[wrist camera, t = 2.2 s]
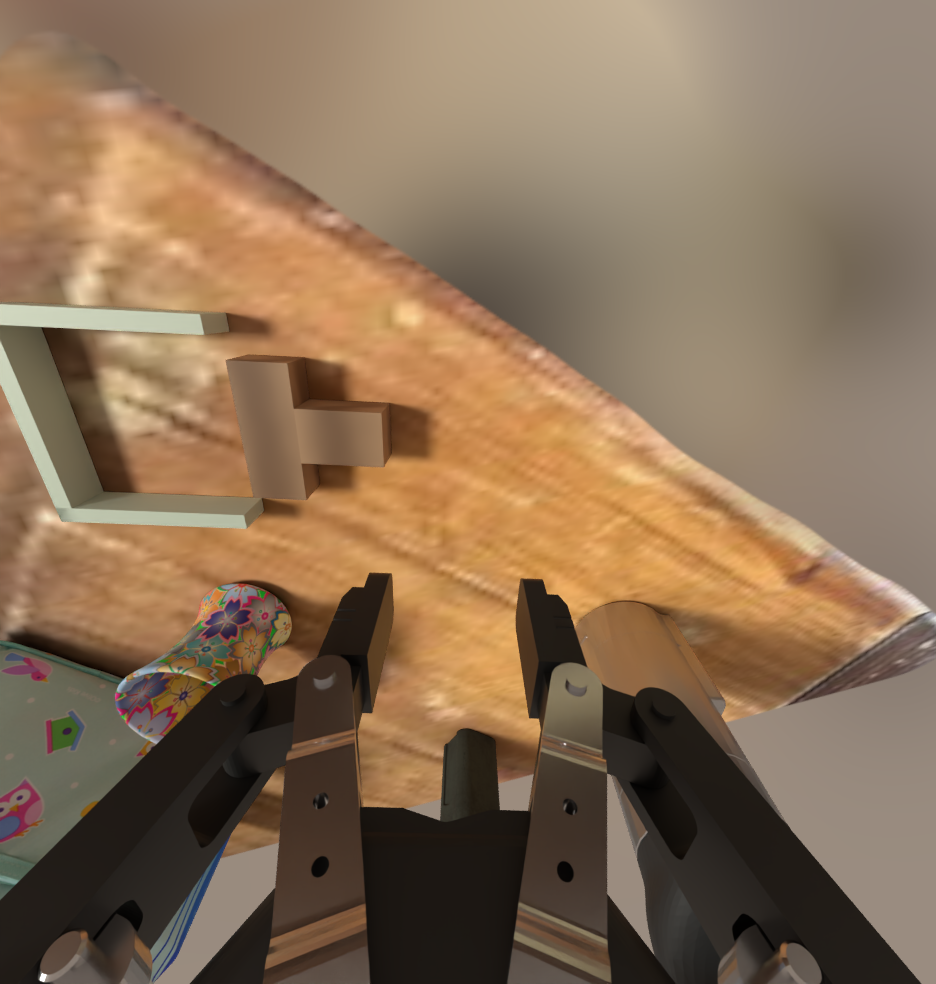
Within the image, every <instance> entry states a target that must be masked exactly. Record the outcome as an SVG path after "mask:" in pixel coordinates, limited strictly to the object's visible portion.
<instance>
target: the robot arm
mask: <svg viewBox="0 0 936 984" xmlns="http://www.w3.org/2000/svg"><path fill="white" fill-rule="evenodd" d="M393 613H394V606H393V582H392V574H391V573H369V575H368V578H367V581H366V583H365V586H364V588H362V587H352V588H351V589H350V590H349V591H348V592H347V593H346V594H345V595H344V596H343V597H342V599H341V602H340V604H339V606H338V609H337V611H336V614H335V616H334V618H333V621H332V623H331V626H330V628H329V630H328V633H327V635H326V638H325V640H324V642H323V645H322V647H321V649H320V652H319V654H318V657H317V658H316V659H314V660H312V661H310V662H309V663H308V664H306V665H305V666H304V667H303V669H302V670H301V671H300V673H299V675H298V676H296V677H293V678H291V679H287V680H283V681H279V682H275V683H271V684H267V685H264V684H263V681H262V680H261V678H259V677H258V676H256V675H253V674H239V675H235V676H232V677H229V678H227V679H225V680H223V681H222V682H220V683H219V684H217V685H216V686H215V687H214V688H212V689H211V690H210V691H209V692H208V693H207V694H206V695H205V696H204V697H203V698H202V699H201V700H200V701H199V702H198V703H197V704H196V705H195V706H194V707H193V708H192V709H191V710H190V711H189V712H188V713H187V714H186V715H185V716H184V717H183V718H182V719H181V720H180V721H179V722H178V723H177V724H176V725H175V726H174V727H173V728H172V729H171V730H170V731H169V732H168V733H167V734H166V735H165V736H164V737H163V738H162V739H161V740H160V741H159V742H158V743H157V744H156V745H155V746H154V747H153V748H152V749H151V750H150V751H149V752H148V753H147V754H146V755H145V756H144V757H143V758H142V759H141V760H140V761H139V762H138V763H137V764H136V765H135V766H134V767H133V768H132V769H131V770H130V771H129V772H128V773H127V774H126V775H125V776H124V777H123V778H122V779H121V780H120V781H119V782H118V783H117V784H116V785H115V786H114V787H113V788H112V789H111V790H110V791H109V792H108V793H107V794H106V795H105V796H104V797H103V798H102V799H101V800H100V801H99V802H98V803H97V804H96V805H95V806H94V807H93V808H92V809H91V810H90V811H89V812H88V813H87V814H86V815H85V816H84V817H83V818H82V819H81V820H80V821H79V822H78V823H77V824H76V825H75V826H74V827H73V828H72V829H71V830H70V831H69V832H68V833H67V834H66V835H65V836H64V837H63V838H62V839H61V840H60V841H59V842H58V843H57V844H56V845H55V846H54V847H53V848H52V849H51V850H50V851H49V852H48V853H47V854H46V855H45V856H44V857H43V858H42V859H41V860H40V861H39V862H38V863H37V864H36V865H35V866H34V867H33V868H32V869H31V870H30V871H29V872H28V873H27V874H26V875H25V876H24V877H23V878H22V879H21V880H20V881H19V882H18V883H17V884H16V885H15V886H14V887H13V888H12V889H11V890H10V891H9V892H8V893H7V894H6V895H5V896H4V897H3V898H2V899H1V900H0V984H149V983H150V979H151V974H152V965H153V962H152V955H151V952H150V950H151V949H152V947H153V946H154V944H155V943H156V942H157V940H158V939H159V937H160V936H161V934H162V933H163V931H164V930H165V929H166V927H167V926H168V924H169V923H170V921H171V920H172V918H173V917H174V916H175V914H176V913H177V911H178V910H179V908H180V907H181V905H182V904H183V903H184V901H185V900H186V898H187V897H188V895H189V894H190V892H191V891H192V890H193V888H194V887H195V885H196V884H197V882H198V881H199V879H200V878H201V877H202V875H203V874H204V872H205V871H206V869H207V868H208V866H209V865H210V864H211V862H212V861H213V859H214V858H215V856H216V855H217V853H218V852H219V851H220V849H221V848H222V846H223V845H224V843H225V842H226V840H227V839H228V838H229V836H230V835H231V833H232V832H233V830H234V829H235V827H236V826H237V825H238V823H239V822H240V820H241V819H242V817H243V816H244V814H245V813H246V812H247V810H248V809H249V807H250V806H251V804H252V803H253V801H254V800H255V799H256V797H257V796H258V794H259V793H260V791H261V790H262V788H263V787H264V786H265V784H266V783H267V781H268V780H269V778H270V777H271V775H272V774H273V773H274V771H275V769H276V768H278V767H281V766H285V777H284V789H283V801H282V812H281V824H280V836H279V849H278V861H277V872H276V884H275V885H276V886H275V889H274V890H273V891H272V892H271V893H270V894H269V895H268V896H267V897H266V899H265V900H264V901H263V902H262V903H261V904H260V905H259V906H258V908H257V909H256V910H255V911H254V912H253V913H252V915H251V916H250V917H249V918H248V919H247V920H246V921H245V922H244V923H243V924H242V926H241V927H240V928H239V929H238V930H237V931H236V932H235V933H234V935H233V936H232V937H231V938H230V939H229V940H228V941H227V942H226V944H225V945H224V946H223V947H222V948H221V949H220V950H219V952H218V953H217V954H216V955H215V956H214V957H213V958H212V959H211V961H210V962H209V963H208V964H207V965H206V966H205V967H204V968H203V969H202V971H201V972H200V973H199V974H198V975H197V976H196V977H195V979H194V980H193V981H192V982H191V983H190V984H921V983H920V982H919V980H918V979H917V978H916V977H915V976H914V974H913V973H912V972H911V971H910V970H909V969H908V967H907V966H906V965H905V964H904V963H903V962H902V960H901V959H900V958H899V957H898V956H897V954H896V953H895V952H894V951H893V950H892V949H891V947H890V946H889V945H888V944H887V943H886V942H885V940H884V939H883V938H882V937H881V936H880V934H879V933H878V932H877V931H876V930H875V929H874V927H873V926H872V925H871V924H870V923H869V921H867V919H866V918H865V917H864V915H863V914H862V913H861V912H860V911H859V910H858V908H857V907H856V906H855V905H854V904H853V902H852V901H851V900H850V899H849V898H848V897H847V896H846V894H845V893H844V892H843V891H842V890H841V889H840V887H839V886H838V885H837V884H836V882H835V881H834V880H833V879H832V878H831V877H830V875H829V874H828V873H827V872H826V871H825V869H824V868H823V867H822V866H821V865H820V864H819V862H818V861H817V860H816V859H815V858H814V857H813V856H812V854H811V853H810V852H809V851H808V849H807V848H806V847H805V846H804V845H803V844H802V842H801V841H800V840H799V839H798V838H797V837H796V835H795V834H794V833H793V832H792V831H791V829H790V827H789V826H788V824H787V823H786V822H785V820H784V818H783V817H782V815H781V813H780V812H779V810H778V809H777V807H776V805H775V804H774V802H773V800H772V799H771V797H770V795H769V794H768V792H767V790H766V789H765V787H764V786H763V784H762V782H761V781H760V779H759V777H758V776H757V774H756V772H755V771H754V769H753V768H752V766H751V764H750V763H749V761H748V760H747V758H746V756H745V755H744V753H743V751H742V750H741V748H740V746H739V745H738V743H737V741H736V740H735V738H734V736H733V735H732V733H731V731H730V730H729V728H728V726H727V725H726V723H725V721H724V720H723V718H722V716H721V715H722V713H723V711H724V709H725V706H726V705H725V700H724V698H723V697H722V695H721V694H720V692H719V691H718V689H717V687H716V686H715V684H714V683H713V681H712V680H711V678H710V677H709V675H708V673H707V672H706V670H705V669H704V667H703V666H702V664H701V663H700V661H699V659H698V658H697V656H696V655H695V653H694V652H693V650H692V649H691V647H690V645H689V644H688V642H687V641H686V639H685V638H684V636H683V635H682V633H681V631H680V630H679V628H678V627H677V625H676V624H675V622H674V621H673V619H672V617H671V616H670V615H661V614H659V613H657V612H656V611H655V610H653V609H652V608H651V607H648V606H646V605H644V604H641V603H636V602H624V601H623V602H615V603H610V604H607V605H603V606H601V607H599V608H597V609H595V610H593V611H592V612H590V613H589V614H587V615H586V616H585V617H584V618H583V619H582V620H581V621H580V622H579V623H578V625H577V626H576V628H575V629H574V624H573V621H572V620H571V615H570V612H569V609H568V606H567V604H566V603H565V602H564V601H563V600H562V599H561V598H560V597H559V595H549V594H547V593H546V589H545V585H544V582H543V580H542V579H521V580H520V586H519V594H518V601H517V609H516V633H517V640H518V647H519V653H520V660H521V667H522V673H523V680H524V687H525V694H526V700H527V707H528V714H529V718H537V719H539V721H540V727H541V732H540V737H539V744H538V750H537V756H536V763H535V769H534V776H533V782H532V789H531V795H530V802H529V808H528V811H510V810H508V811H507V810H488V811H484V812H481V813H477V814H474V815H470V816H467V817H463V818H460V819H456V820H453V821H449V822H443V821H439V820H436V819H433V818H430V817H427V816H425V815H421V814H419V813H416V812H413V811H410V810H407V809H404V808H384V807H363V795H362V782H361V768H360V755H359V741H358V727H359V724H360V720H361V716H362V713H372V712H373V707H374V703H375V698H376V694H377V690H378V685H379V681H380V677H381V672H382V668H383V664H384V659H385V655H386V650H387V646H388V642H389V637H390V633H391V629H392V623H393ZM607 774H610V775H611V776H612V779H613V782H614V786H615V789H616V792H617V795H618V799H619V802H620V805H621V808H622V812H623V815H624V818H625V821H626V825H627V828H628V831H629V835H630V838H631V841H632V845H633V848H634V851H635V854H636V857H637V861H638V864H639V867H640V871H641V874H642V878H643V881H644V886H645V898H646V915H647V922H648V929H649V934H650V939H651V943H652V947H653V951H654V954H653V953H652V952H651V950H650V949H649V948H648V947H647V945H646V944H645V943H644V941H643V940H642V939H641V937H640V936H639V935H638V933H637V932H636V931H635V930H634V928H633V927H632V926H631V924H630V923H629V922H628V920H627V919H626V918H625V917H624V915H623V914H622V913H621V911H620V910H619V909H618V907H617V906H616V905H615V903H614V902H613V901H612V900H611V898H610V897H609V896H608V894H607ZM654 955H655V956H654Z"/></svg>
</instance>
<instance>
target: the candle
mask: <svg viewBox="0 0 936 984" xmlns="http://www.w3.org/2000/svg"><path fill="white" fill-rule="evenodd" d="M498 792H499V791H498V775H497V759H496V744H495V740H494V739H493V738H491V737H488V736H486V735H483V734H481V733H478V732H476V731H473V730H471V729H461V730H459V731H458V732H457V735H456V736H455V737H454V738H453V739H452V740H451V741H450V742H449V743H448V744H445V746H444V757H443V777H442V796H441V817H440V821H443V822H449V821H453V820H456V819H460V818H463V817H467V816H470V815H474V814H477V813H481V812H484V811H488V810H500V806H499V793H498Z"/></svg>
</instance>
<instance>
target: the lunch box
mask: <svg viewBox="0 0 936 984" xmlns="http://www.w3.org/2000/svg"><path fill="white" fill-rule="evenodd" d="M122 681H123V679H122V678H119V677H117V676H114V675H112V674H109V673H106V672H103V671H100V670H96V669H92V668H89V667H86V666H83V665H80V664H77V663H75V662H72V661H69V660H66V659H64V658H61V657H58V656H56V655H53V654H50V653H46V652H43V651H39V650H37V649H34V648H29V647H26V646H23V645H21V644H17V643H13V642H8V641H0V900H1V899H2V898H3V897H4V896H5V895H6V894H7V893H8V892H9V891H10V890H11V889H12V888H13V887H14V886H15V885H16V884H17V883H18V882H19V881H20V880H21V879H22V878H23V877H24V876H25V875H26V874H27V873H28V872H29V871H30V870H31V869H32V868H33V867H34V866H35V865H36V864H37V863H38V862H39V861H40V860H41V859H42V858H43V857H44V856H45V855H46V854H47V853H48V852H49V851H50V850H51V849H52V848H53V847H54V846H55V845H56V844H57V843H58V842H59V841H60V840H61V839H62V838H63V837H64V836H65V835H66V834H67V833H68V832H69V831H70V830H71V829H72V828H73V827H74V826H75V825H76V824H77V823H78V822H79V821H80V820H81V819H82V818H83V817H84V816H85V815H86V814H87V813H88V812H89V811H90V810H91V809H92V808H93V807H94V806H95V805H96V804H97V803H98V802H99V801H100V800H101V799H102V798H103V797H104V796H105V795H106V794H107V793H108V792H109V791H110V790H111V789H112V788H113V787H114V786H115V785H116V784H117V783H118V782H119V781H120V780H121V779H122V778H123V777H124V776H125V775H126V774H127V773H128V772H129V771H130V770H131V769H132V768H133V767H134V766H135V765H136V764H137V763H138V762H139V761H140V760H141V759H142V758H143V757H144V756H145V755H146V754H147V753H148V752H149V751H150V750H151V749H152V748H153V747H154V746H155V745H156V743H153V742H151V741H149V740H147V739H146V738H144V737H142V736H141V735H139V734H138V733H136V732H135V731H134V730H133V729H131V728H130V727H129V726H128V725H127V724H126V723H125V721H124V720H123V719H122V717H121V716H120V714H119V712H118V710H117V707H116V703H115V694H116V690H117V688H118V686H119V684H120V683H121V682H122Z"/></svg>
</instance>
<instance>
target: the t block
mask: <svg viewBox="0 0 936 984" xmlns="http://www.w3.org/2000/svg"><path fill="white" fill-rule="evenodd" d="M226 365H227V369H228V374H229V379H230V384H231V389H232V394H233V399H234V404H235V409H236V414H237V419H238V423H239V428H240V433H241V438H242V443H243V448H244V453H245V458H246V463H247V468H248V472H249V477H250V482H251V487H252V492H253V497H254V498H272V499H293V500H307V499H308V498H309V497H310V495H311V494H312V493H313V492H314V491H315V489H316V488H317V487H318V486H319V485H320V479H319V471H318V464H325V465H346V466H366V467H384V466H385V464H386V462H387V461H388V459H389V457H390V455H391V426H390V403H379V402H358V401H338V400H318V399H310V397H309V389H308V381H307V373H306V365H305V357H287V356H267V355H245V356H241V357H237V358H233V359H229V360H226Z"/></svg>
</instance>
